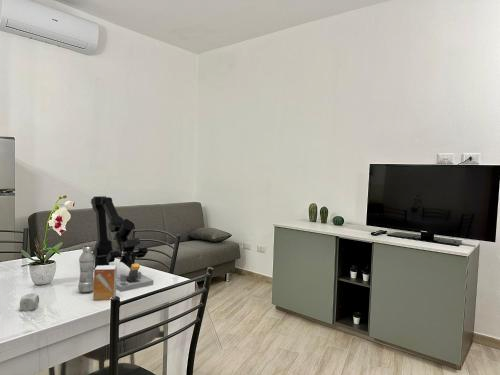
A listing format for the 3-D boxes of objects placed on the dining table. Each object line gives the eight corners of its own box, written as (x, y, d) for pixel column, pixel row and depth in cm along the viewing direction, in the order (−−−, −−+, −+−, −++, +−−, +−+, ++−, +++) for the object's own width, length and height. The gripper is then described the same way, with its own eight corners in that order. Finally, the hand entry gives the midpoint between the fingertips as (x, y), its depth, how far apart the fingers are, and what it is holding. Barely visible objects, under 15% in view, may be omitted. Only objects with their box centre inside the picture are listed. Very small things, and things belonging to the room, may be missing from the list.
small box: (93, 300, 142) (93, 269, 141) (96, 295, 148) (97, 265, 148) (113, 299, 144) (114, 268, 143) (116, 294, 150) (117, 264, 150)
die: (19, 311, 128) (19, 298, 128) (24, 306, 133) (25, 293, 133) (34, 310, 130) (34, 297, 129) (39, 305, 134) (39, 293, 134)
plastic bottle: (90, 288, 157) (92, 244, 156) (96, 292, 152) (97, 247, 151) (75, 291, 152) (76, 246, 151) (81, 295, 147) (82, 248, 146)
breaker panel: (107, 283, 163) (107, 273, 163) (139, 277, 175) (139, 267, 174) (120, 291, 153) (121, 280, 153) (153, 284, 165) (153, 273, 165)
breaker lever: (125, 279, 164) (131, 264, 160) (133, 278, 166) (138, 262, 162) (127, 283, 162) (133, 267, 158) (135, 281, 165) (140, 266, 161)
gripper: (109, 234, 159) (119, 263, 151) (147, 230, 172) (157, 257, 165) (102, 247, 165) (111, 276, 157) (138, 243, 178) (148, 269, 171)
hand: (133, 269), depth 162 cm, fingers closed, pressing on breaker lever
